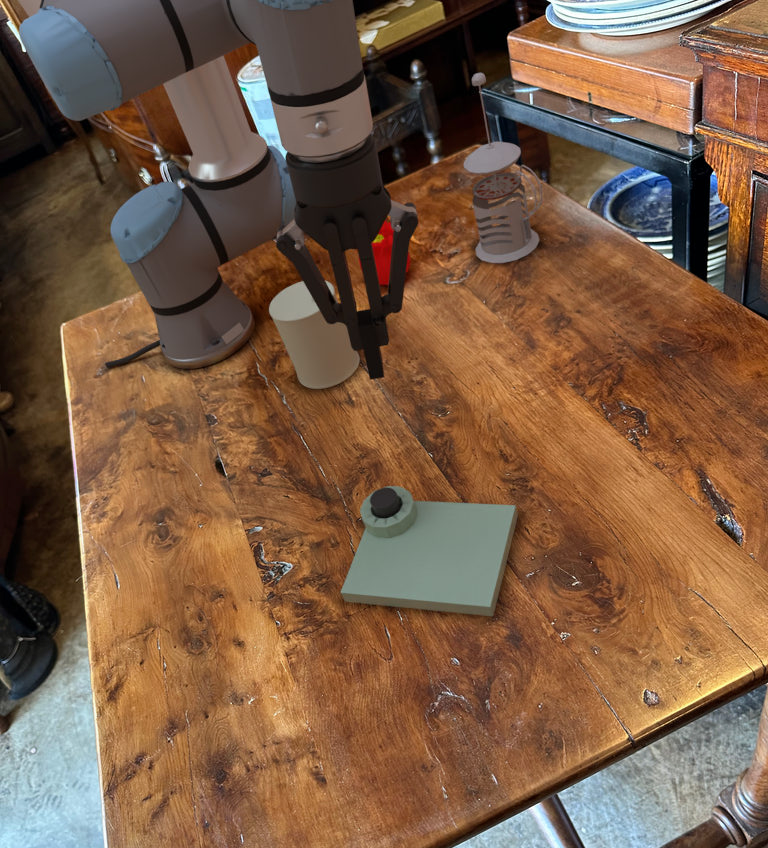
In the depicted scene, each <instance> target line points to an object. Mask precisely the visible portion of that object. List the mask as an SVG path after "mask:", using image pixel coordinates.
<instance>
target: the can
mask: <svg viewBox="0 0 768 848" xmlns="http://www.w3.org/2000/svg"><path fill="white" fill-rule="evenodd" d="M325 282H326V284H327V285H328V287H329V289H330V291H331V293H332V295H333V296H334V298H335V300H336V302H337V303H339V300H338V297H337V295H336V292H335V291H336V290H335V287H334V285H333V284H332V283H331V282H329V281H328V280H325ZM268 313H269V315H270V317H271V318H272V321H273V323H274V325H275V327H276V330H277V331H278V333H279V336H280V338H281V341H282V342H283V345H284V347H285V349H286V352H287V355H288V357H289V358H290V361H291V363H292V365H293V368H294V370H295V372H296V376H297V380H298V381H299V383H300V384H301V385H302V386H304V387H306V388H307V389H312V390H323V389H328V388H332V387H335V386H337V385H340V384H341V383H343V382H345V381H346V380H348V379H349V378H350V377H352V376H353V375H354V374H355V372H357V369H358V368H359V365H360V362H361V361H360V359H361V358H360V355H359V352H358V351H354V350H353V349H352V347H351V343H350V339H349V335H348V330H347V327H346V325H345V324H343V323H340V322H336V323H335V324H328V323H327V322H326V321H325V319H324V317H323V315H322V314H321V312H320V310H319V308H318V307H317V305H316V303H315V301H314V299H313V298H312V296H311V294H310V292H309V291H308V289H307V287H306V285H305V284H304V282H303V280H302V281H299V282H296V283H294V284H292V285H289V286H287V287H286V288H284V289H282V290H281V291H280V292H278V293H277V294H276V295H275V296H274V297H273V299H272V300H271V302H270V303H269V306H268Z"/></svg>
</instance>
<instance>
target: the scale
mask: <svg viewBox="0 0 768 848" xmlns="http://www.w3.org/2000/svg"><path fill="white" fill-rule="evenodd" d="M383 488H392V489H393V490H395V491H396V493H397V496H398V498H399V501H400V504H401V507H400V510H399V512H398V513H397V514H396V515H394V516H392V517H389V518H379V517H378V516H376V515H375V513H374V510H373V508H372V506H371V503H370V498H371V496H372V494H373V493H374V492H375V491H377V490H378V489H375V490H373V491H372V492H371V493H370V494H369V495H368V496H366V497H365V498H364V499H363V502H362V504H361V507H360V509H359V512H360V516H361V519H362V522H363V525H364V527H365V528H364V531H363V533H362V536H361V538H360V541H359V543H358V546H357V549H356V552H355V554H354V557H353V558H352V562H351V564H350V566H349V570H348V572H347V575H346V577H345V580H344V582H343V585H342V587H341V589H340V594H341V597H342V599H343V600H344V602H347V603H355V604H356V603H357V604H366V605H376V606H384V607H396V608H406V609H413V610H414V609H415V610H425V611H435V612H444V613H454V614H463V615H473V616H474V615H475V616H485V617H494V616H495V611H496V608H497V603H498V599H499V595H500V591H501V586H502V583H503V578H504V574H505V570H506V567H507V562H508V558H509V553H510V550H511V545H512V541H513V539H514V534H515V529H516V525H517V521H518V518H519V513H518V508H517V506H516V505H515V504H498V503H497V504H496V503H473V502H453V501H451V502H449V501H429V500H428V501H427V500H414V497H413V495H412V492H411V491H409V490H407V489H405V488H404V487H402V486H400V485H399V486H398V485H397V486H396V485H387V486H383Z"/></svg>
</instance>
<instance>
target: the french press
mask: <svg viewBox="0 0 768 848" xmlns="http://www.w3.org/2000/svg"><path fill="white" fill-rule="evenodd" d="M486 82H487V78H486V76H485V74H484V73H483V72H477V73H474V74H473V76H472V78H471V85H472V86H473V87H477V86H478V90H479V96H480V101H481V107H482V113H483V118H484V125H485V130H486V136H487V142H488V143H486V144H482V145H480V146H479V147H477V148H476V149H475V150H473V151H472V152H471V153H470V154H468V155H467V156H466V158H465V160H464V161H463V169H465V171H466V172H468V173H469V174H471V175H476V176H485V177H483V178H481V179H480V180H478V181H477V182H475V184H474V186H473V187H472V189H471V191H472V194H473V197H472V207H473V213H474V217H475V223H476V227H477V232H478V239H479V242H478V244H477V245H476V247H475V256H476V257H477V258H478V259H480V261H482V262H486V263H490V264H504V263H508V262H509V263H510V262H513V261H517V260H519V259H522V258H524V257H526V256H528V255H529V254H531V252H532V251H534V250H535V249H536V248H537V247H538V244H539V242H540V237H539V234H538V233H537V232H536V231H535V230H533V229H532V228H531V222H530V218H531V217H532V216H533V215H534V214H535V213H536V212H537V210H539V209H540V207H541V204H542V201H543V186H542V183H541V181H540V179H539V177H538V175H537V174H536V173H535V171H533V170H532V169H531V168H530V167H528V166H527V165H525V164H521V165H520V166H519V170H516V171H514V172H510V171H507V172H502V171H504V170H508V169H509V168H510V167H512V166H513V165H515V163H517V162H518V160H519V158H520V157H521V154H522V153H521V152H522V151H521V147H519V146H518V145H516V144H514V143H512V142H504V141H499V140H498V141H497V140H496V141H493V142H491V139H490V134H489V128H488V122H487V117H486V111H485V110H486V109H485V104H484V100H483V93H482V87H481V86H482V85H484V84H485V83H486ZM523 168H524V169H526V170H527V171H528V172H530V173H531V174H532V175H533V176H534V178H535V180H536V181H537V183H538V185H539V191H540V192H539V193H540V198H539V202H538V198H537V192H536V188H535V186H534V184H533V183H532V181H531V180H530V178H528V177H527V176H526V174H524V173H523ZM522 177H523V178H524V179H525V180H526V181H527V182H528V183H529V185H530V186H531V188H532V191H533V194H534V207H533V210H531V211H529V209H528V201H527V194H526V189H525V185H524V184H523V183H522V181H523V180H522ZM517 190H519V191H521V192H522V193H523V194H522V193H520V192H518V191H517ZM516 191H517V192H516ZM512 198H518V199H516V200H512V201H511V202H508V201H509V200H511V199H512ZM491 200H494V202H490V203H489V201H491ZM495 200H496V201H495ZM522 200H523V201H522ZM505 202H508V203H507V204H506V205H504V206H501V207H500V205H502V204H504V203H505ZM497 206H499V207H497ZM523 208H524V209H523ZM492 216H498V217H494V218H492ZM507 218H508V219H507Z"/></svg>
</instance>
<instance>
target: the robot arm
mask: <svg viewBox="0 0 768 848" xmlns="http://www.w3.org/2000/svg"><path fill="white" fill-rule="evenodd" d="M353 1H354V0H17V2H18V4H19V5H20V6H21V7H22V8H23V10H24V12H25V13H26V14H27V16H28V17H27V18H25V19H23V21H22V23H21V24H20V25H19V28H18V29H19V30H18V31H19V32H18V34H19V39H20V41H21V43H22V45H23V47H24V50H25V51H26V53H27V55H28V57H29V59H30V60H31V63H32V64H33V66H34V68H35V70H36V71H37V73H38V75H39V77H40V79H41V80H42V82H43V84H44V86H45V88H46V89H47V91H48V93H49V95H51V97H52V99H53V101H54V102H55V104H56V106H57V108H58V109H59V111H60V112H61V114H62V115H63V116H64V117H65V118H67V119H69V120H71V121H78V122H81V121H84V120H86V119H88V118H91V117H94V116H96V115H99V114H101V113H103V112H107V111H110V112H112V111H115V110H116V109H118V108H120V106H121V105H122V104H125V103H127V102H129V101H130V100H132V99H135V98H136V97H138V96H141V95H143V94H145V93H148V92H149V91H151V90H153V89H156V88H157V87H160V86H161V85H163V87H164V90H165V92H166V94H167V96H168V99H169V101H170V103H171V106H172V108H173V110H174V113H175V115H176V117H177V119H178V122H179V124H180V127H181V129H182V131H183V134H184V136H185V138H186V141H187V143H188V146H189V148H190V150H191V152H192V155H191V157H190V161H189V163H188V166H187V167H188V172H189V175H190V177H191V180H192V182H191V183H190V184H188V185H187V186H184V187H182V188H181V186H180V185H178V184H177V183H175V182H173V181H161V182H159V183H158V184H156V183H155V184H152V185H149V186H148V187H145V188H143V189H142V190H140V191H138V192H137V193H135V194H134V195H133V196H131V197H130V198H129V199H128V200H126V202H124V203H123V204H122V205H121V206H120V207H119V209H118V210H117V211H116V213H115V214H114V215H113V218H112V219H111V223H110V235H111V236H110V237H111V238H112V240H113V242H114V244H115V247H116V248H117V250H118V252H119V257H120V259H121V261H122V262H123V263H125V264H126V266H127V268H128V269H129V271H130V273H131V275H132V277H133V278H134V280H135V282H136V284H137V285H138V287H139V289H140V291H141V293H142V295H143V296H144V298H145V300H146V302H147V303H148V306H149V307H150V309H151V311H152V313H153V315H154V319H155V325H156V329H157V333H158V334H157V335H158V340H156V341H154V342H152V343H150V344H147V345H146V346H144V347H141V348H140V349H139V350H137V351H135V352H134V353H131V354H129V355H127V356H125V357H121V358H118V359H115V360H111V361H107V362H105V364H104V365H105V367H106V368H107V369H109V368H112V367H116V366H121V365H125V364H127V363H130V362H132V361H133V360H136V359H138V358H139V357H141V356H143V355H144V354H147V353H148V352H150V351H152V350H154V349H156V348H158V347H160V350H161V352H162V354H163V355H164V357H165V359H166V361H167V362H168V363H169V364H170V365H171V366H173V367H175V368H177V369H185V370H191V369H192V370H193V369H194V370H195V369H199V368H205V367H208V366H212V365H214V364H216V363H220V362H221V361H223V360H226V358H228V357H230V356H232V355H233V354H235V353H236V352H238V351H239V350H240V349H241V348H242V347H243V346H244V345H246V343H248V341H249V339H250V338H251V337H252V335H253V334H254V331H255V326H256V321H255V318H254V316H253V313H252V310H251V309H250V307H249V306H248V305H247V304H246V303H245V302H244V301H243V300H242V299H240V298H239V297H238V295H236V293H234V291H233V290H232V289H231V288H230V287H229V285H228V284H227V283H226V282H225V280H224V279H223V277H222V274H221V272H220V271H219V267H221V266H223V265H225V264H227V263H229V262H231V261H233V260H235V259H236V258H239V257H241V256H243V255H245V254H246V253H248V252H251V251H253V250H255V249H256V248H258V247H261V246H262V245H265V244H266V243H268V242H270V241H275V246H276V250H277V251H278V252H280V254H282V255H283V256H284V257H286V259H288V260H289V261H290V262H291V263H292V264H293V266H294V268H295V270H296V271H297V274H299V275H298V276H300V279H301V280H302V281H303V282H304V284H305V285H306V287H307V289H308V291H309V292H310V294H311V296H312V298H313V299H314V301H315V303H316V305H317V307H318V308H319V310H320V312H321V314H322V315H323V317H324V319H325V321H326V322H327V323H328V324H335V323H336V322H340V323H343V324H345V325H346V327H347V330H348V335H349V339H350V343H351V347H352V349H353V350H354V351H357V352H358V351H362V350H363V356H364V360H365V362H366V363H365V364H366V368H367V369H366V370H367V374H368V377H369V380H376V379H377V380H378V379H382V378H385V372H384V363H383V362H384V360H383V356H382V351H381V347H385V346H386V347H387V346H389V343H390V337H389V330H388V324H387V317H388V316H389V315H390V314H398V313H400V312H401V311H402V309H403V302H404V293H405V286H406V285H405V284H406V275H407V272H406V267H407V258H408V252H409V249H410V241H411V239H412V237H413V235H414V233H415V231H416V230H417V228H418V225H419V217H418V212H417V207H416V204H414V203H413V202H411V201H410V202H406V203H404V204H402V203H400V202H397V201H395V200H392V198H391V194H390V192H389V191H388V189H387V188H386V187H385V185H384V183H383V178H382V173H381V172H382V171H381V166H380V161H379V154H378V148H377V142H376V141H377V140H376V138H375V136H374V134H372V131H373V128H374V123H373V116H372V110H371V105H370V98H369V91H368V88H367V87H368V86H367V80H366V79H367V78H366V75H365V72H364V67H363V59H362V53H361V47H360V41H359V33H358V26H357V20H356V15H355V7H354V2H353ZM249 44H253V45H254V46H256V49H257V53H258V57H259V61H260V65H261V67H262V71H263V75H264V79H265V83H266V87H267V91H268V94H269V95H268V96H269V99H270V103H271V107H272V111H273V116H274V119H275V124H276V127H277V132H278V136H279V140H280V144H281V147H282V148H283V150H284V151H285V152H286V153H285V157H284V155H283V154H282V152H281V151H280V149H278V148H277V147H276V146H274V145H268V143H267V141H266V139H265V138H264V137H263V136H262V135H259V134H257V133H255V132H253V131H251V127H250V125H249V121H248V119H247V117H246V115H245V111H244V108H243V105H242V102H241V100H240V97H239V94H238V91H237V89H236V86H235V83H234V81H233V78H232V75H231V73H230V69H229V67H228V64H227V62H226V59H225V55H228V54H230V53H232V52H233V51H236V50H238V49H241V48H242V47H245V46H247V45H249ZM388 217H389V222H391V228H392V229H393V230H394V232H393V242H392V253H391V263H390V274H389V284H388V285H387V286H388V287H387V293H386V294H384V295H383V296H382V291H381V285H380V284H379V279H378V274H377V268H376V263H375V258H374V253H373V247H372V242H373V241H374V240H375V239H376V237H377V235H378V233H379V231H380V229H381V227H382V226H383V224H384V222H385V221H387V220H386V219H387V218H388ZM304 234H306V235H307V236H308V237H310V239H311V240H313V241H314V242H315V243H316V244H318V245H319V246H320V247H321V248H322V249H323V250H325V251H327V252H328V255H329V260H330V265H331V267H332V270H333V275H334V280H335V285H336V289H337V294H338V297H339V301H340V303H339V302H338V303H337V302H336V300H335V298H334V296H333V295H332V293H331V291H330V289H329V287H328V285H327V284H326V282H325V281H326V280H325V278H324V276H323V274H322V272H321V270H320V268H319V267H318V265H317V263H316V261H315V259H314V258H313V255H312V254H311V252H310V250H309V249H308V246H307V245H306V244H305V243H306V242H305V241H306V240H305V239H306V238H305V235H304ZM357 249H358V251H357V254H358V260H359V259H360V262H361V267H362V270H361V273H362V276H363V277H362V278H363V281H364V286H365V287H364V288H365V290H366V296H367V301H368V305H369V308H367V309H361V310H358V307H357V301H356V297H355V292H354V288H353V283H352V278H351V273H350V268H349V263H348V259H347V255H346V252H347V251H350V250H357Z"/></svg>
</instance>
